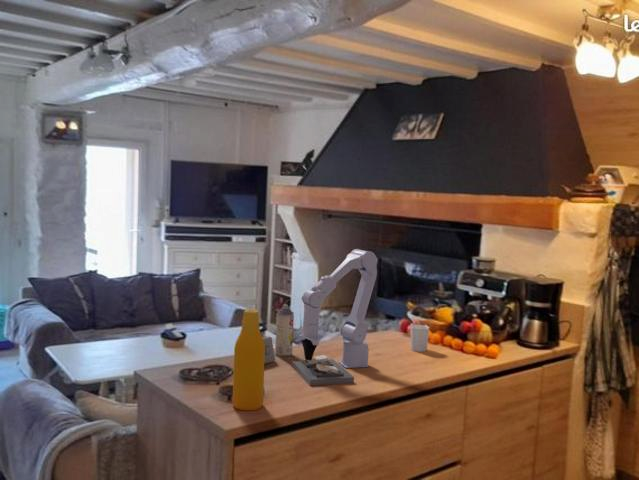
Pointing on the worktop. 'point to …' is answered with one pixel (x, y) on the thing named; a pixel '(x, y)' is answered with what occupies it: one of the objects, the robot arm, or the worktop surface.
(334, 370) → the front rocker
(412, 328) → the white cup
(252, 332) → the beer bottle
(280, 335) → the aerosol can
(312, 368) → the breaker panel
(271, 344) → the electrical switch
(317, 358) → the back rocker
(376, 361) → the worktop surface
